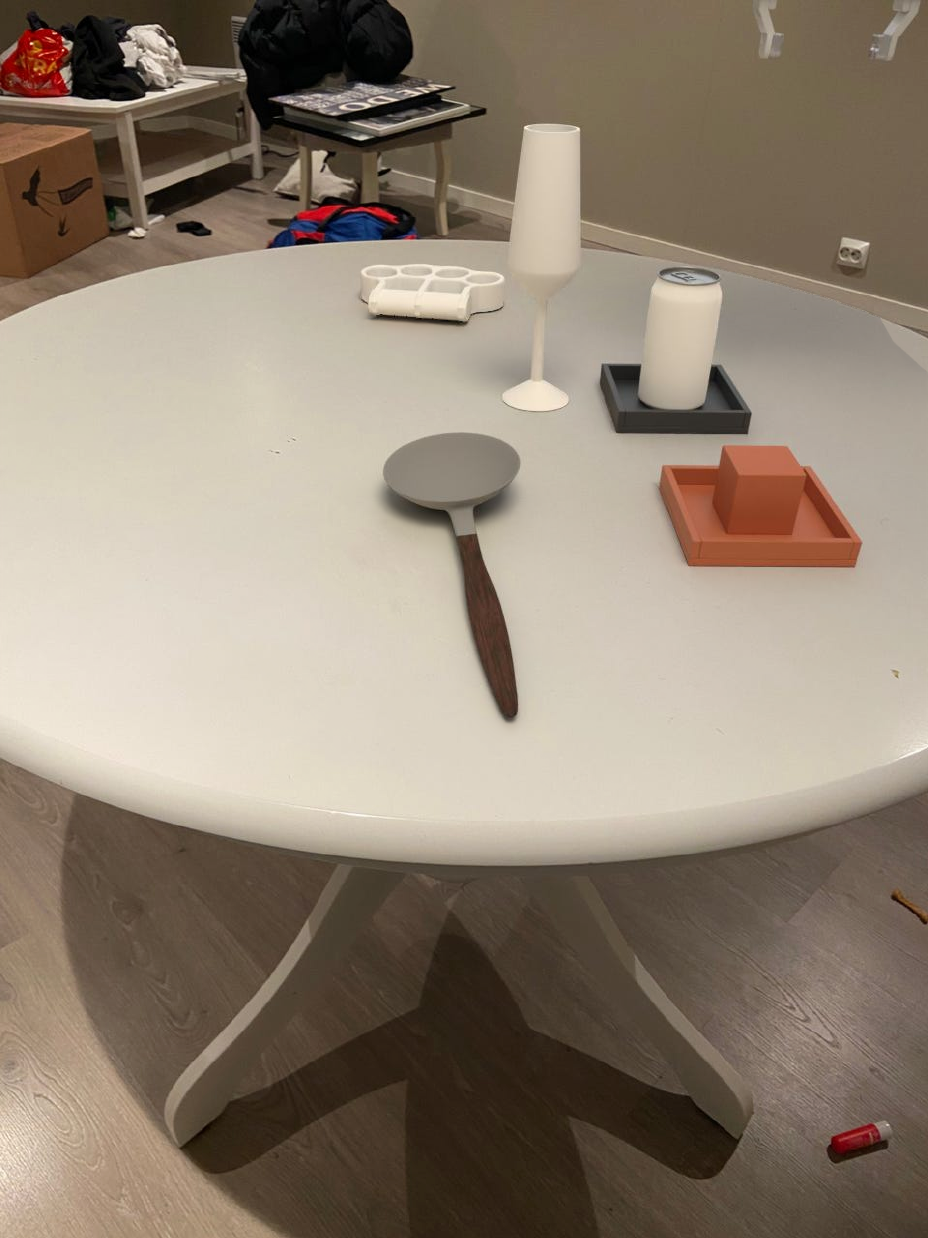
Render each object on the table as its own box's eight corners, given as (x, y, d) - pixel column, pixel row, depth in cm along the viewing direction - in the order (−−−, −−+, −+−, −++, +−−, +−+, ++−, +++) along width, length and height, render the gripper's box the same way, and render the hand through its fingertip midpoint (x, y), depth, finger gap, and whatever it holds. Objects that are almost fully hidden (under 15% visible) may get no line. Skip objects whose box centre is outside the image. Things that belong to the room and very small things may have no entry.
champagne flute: (574, 410, 92) (598, 134, 78) (505, 411, 92) (517, 134, 78) (563, 384, 97) (584, 122, 84) (498, 385, 97) (508, 121, 83)
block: (774, 502, 76) (787, 445, 73) (792, 534, 72) (807, 474, 69) (711, 502, 76) (722, 444, 73) (726, 534, 72) (738, 474, 69)
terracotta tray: (804, 488, 79) (810, 465, 78) (855, 566, 69) (862, 542, 68) (658, 487, 79) (662, 464, 78) (688, 565, 69) (693, 541, 68)
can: (661, 418, 89) (680, 288, 82) (624, 393, 94) (639, 268, 87) (718, 408, 91) (740, 280, 84) (679, 384, 96) (697, 261, 89)
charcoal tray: (717, 384, 98) (721, 364, 97) (747, 433, 88) (752, 412, 87) (599, 382, 98) (601, 363, 97) (616, 432, 88) (618, 411, 87)
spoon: (509, 457, 82) (507, 425, 80) (604, 724, 56) (605, 687, 54) (383, 472, 81) (378, 441, 79) (420, 751, 55) (415, 714, 54)
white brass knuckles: (342, 318, 113) (373, 283, 125) (492, 329, 111) (509, 293, 123) (341, 290, 111) (372, 257, 123) (493, 300, 109) (511, 266, 121)
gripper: (741, -158, 70) (710, 60, 78) (1018, -153, 70) (958, 64, 78) (721, -152, 75) (694, 53, 83) (979, -146, 75) (927, 57, 83)
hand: (824, 58), depth 80 cm, fingers open, 8 cm apart
